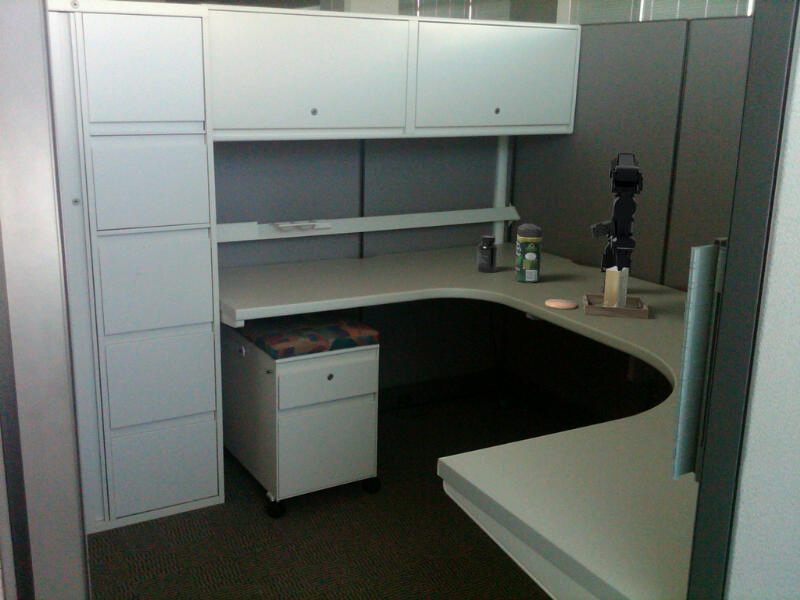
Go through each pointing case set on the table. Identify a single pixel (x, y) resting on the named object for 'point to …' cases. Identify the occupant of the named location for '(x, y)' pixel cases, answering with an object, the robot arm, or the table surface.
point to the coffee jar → (528, 253)
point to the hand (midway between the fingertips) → (617, 267)
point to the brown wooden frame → (615, 310)
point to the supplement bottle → (487, 255)
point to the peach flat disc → (560, 304)
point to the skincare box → (616, 287)
